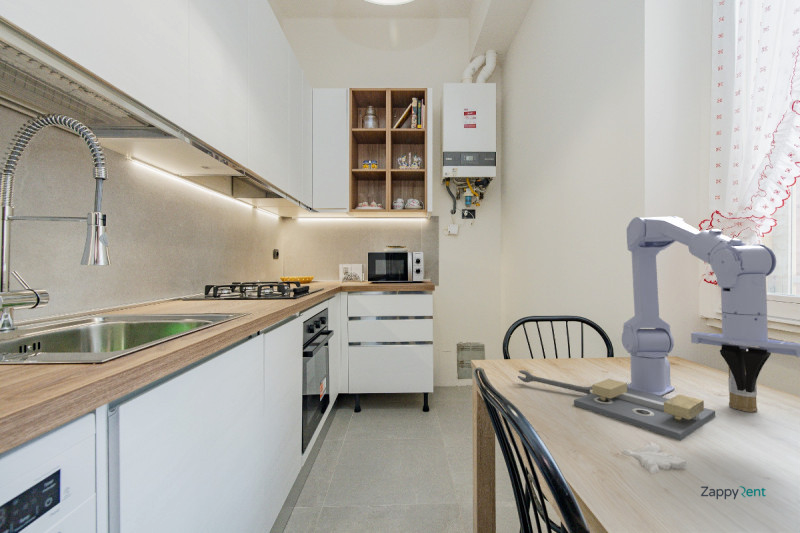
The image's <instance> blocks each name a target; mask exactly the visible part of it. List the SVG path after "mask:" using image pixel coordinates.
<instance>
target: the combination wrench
mask: <svg viewBox="0 0 800 533" xmlns="http://www.w3.org/2000/svg"><path fill="white" fill-rule="evenodd" d="M518 372H519V374H522V375H524V376H525V377H524V376H520V375H517V378H518V379H519V380H520V381H522V382H524V383H531V382H536V383H541V384H546V385H548V386H553V387H558V388H562V389H565V390H569V391H570V390H571V391H574V392H578V393H583V394H585V395H588V394H591V393H592V386H591V385H590V386H580V385H576V384H572V383H567V382H562V381H557V380H553V379H550V378H549V379H548V378H544V377H539V376H536V375H532V373H531V372H529V371H528V370H522V369H521V370H518Z"/></svg>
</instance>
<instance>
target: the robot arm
mask: <svg viewBox="0 0 800 533" xmlns="http://www.w3.org/2000/svg"><path fill="white" fill-rule="evenodd" d="M676 242H678V243H680V244H682V245H685V246H687V247H688V251H689V253H690V254H691V255H692V256H694V257H696V258H698V259H700V260H701V261H703V262H705V263H707V264H708V265H710V267H711V270H712V272H713V273H714V275H715V278H716V284H717V285H718V287H719V288H720V298H721V299H720V302H721V304H720V305H721V306H720V307H721V333H712V332H701V331H692V332H691V333H690V340H691V344H697V345H698V344H703V345H710V346H711V345H712V346H717V347H721V349H720V350H719V353H720V355H721V357H722V358H723V359H724V361H725V363H726V364H727V366H728V367H729V368H730V370H731V372H732V374H733V377H734V379H735V382H736V386H737V390H740V391H743V390H745V389H746V392H749V393H752V392H753V391H755V385H757V380H758V378H759V375H760V373H761V371H762V368H764V365H765V364H766V362H767V361H768V359H769V358H770V357H771V353H772V354H778V355H787V356H794V357H797V358H800V342H792V341H785V340H779V339H771V338H769V337H768V336H769V334H768V302H767V301H768V298H767V293H768V292H767V277H768V276H770V275H772V273H773V272H774V271H775V268H776V266H777V257H776V255H775V253H774V252H773V250H772V249H771V248H769V247H768V246H766V245H765V244H762V243H760V244H753V245H747V244H746V243H744V242H743V241H742V239H739V238H731V237H729V236H727V235H724V234H723V231H722V230H720V229H718V228H716V229H715V228H713V229H706V230H703V231H701V230H698V229H697V228H695V227H693V226H692V225H690V224H687V223H686V222H685V220H684V218H683V217H678V216H676V215H671V216H652V217H651V216H647V217H640V216H636V217H633V218H632V219H631V220H630V222H629V224H628V225H627V227H626V246H627V247H626V248H627V251H629V252H631V268H632V288H633V291H632V292H633V308H634V312H633V313H634V316H632V317H630V318H629V319H627V321H625V322H624V323H623V327H622V328H623V330H622V334H621V342H622V346H623V348H624V349H625V351H626V352H627V353H628V354H629V355H630V383H627V388H628V389H632V390H636V391H640V392H644V393H648V394H652V395H656V396H660V397H663V396H664V395H665V394H668V393H669V392H672V391H674V390H676V387H675V386H671V363H670V361H669V359H668V358H667V357H669V353H672V351H673V350H674V347H675V346H674V345H675V341H674V337H673V334H672V331H671V325H670V324H669V323H668V322H666V321H665V320H664V319H662V318H661V317H660V307H659V290H658V289H659V288H658V271H657V270H658V269H657V267H658V266H657V255H658V254H659V253H661V252H662V251H664V250H666V249H667V248H669V247H670V246H672V245H673V244H674V243H676ZM746 349H747V350H748V351H746ZM729 368H728V369H729ZM745 371H746V375H745Z"/></svg>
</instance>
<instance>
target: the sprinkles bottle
mask: <svg viewBox="0 0 800 533" xmlns="http://www.w3.org/2000/svg"><path fill="white" fill-rule="evenodd" d="M746 351H748V350H747V349H746ZM745 375H746V371H745ZM727 379H728V380H727V381H728V393H729V398H728V399H729V401H728V405H729V406H730V407H731V408H732V409H735V410H738V411H743V412H748V413H749V412H750V413H754V412H755V413H756V412H757V411H758V406H757V404H758V403H757V396H758V393H757V390H758V389H757V388H758V387H757V384H756V385H755V391H753V392H752V393H749V392H746V389H745V390H743V391H740V390H737V386H736V382H735V379H734V377H733V374H732V372H731V370H730V368H729V366H728V378H727Z"/></svg>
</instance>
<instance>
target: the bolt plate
mask: <svg viewBox="0 0 800 533" xmlns="http://www.w3.org/2000/svg"><path fill="white" fill-rule="evenodd" d="M591 385H592V390H591V394H585V395H584V396H581V397H578V398H575V399H573V406H576V407H578V408H581V409H584V410H586V411H587V410H588V411H590V412H593V413H596V414H600V415H603V416H606V417H608V418H612V419H615V420H617V421H621V422H623V423H627V424H629V425H632V426H636V427H639V428H642V429H645V430H648V431H651V432H654V433H656V434H660V435H663V436H666V437H668V438H672V439H675V440H678V441H682V440H684V439H685V438H686V437H688V436H690V435H691V434H693V433H694V432H695V431H696V430H698V429H700V427H702V426H704V425H705V424H707V423H708V422H709V421H711V420H712V419H714V418H715V417H716V410H714V409H710V408H706V407H704V411H702V412H701V413H699V414H697V415H696V416H694V417H693V418H691V419H690V420H689V419H685V418H682V417H681V422H677V421H675V415H671V414H668V413H664V402H665V401H667V400H669V399H670V398H667V397H663V396H656V395H652V394H648V393H644V392H640V391H636V390H632V389H628V388H627V385H628V383H627V382H623V381H620V380H614V379H611V378H608V379H604V380H602V381H599V382H596V383H594V384H591Z"/></svg>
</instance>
